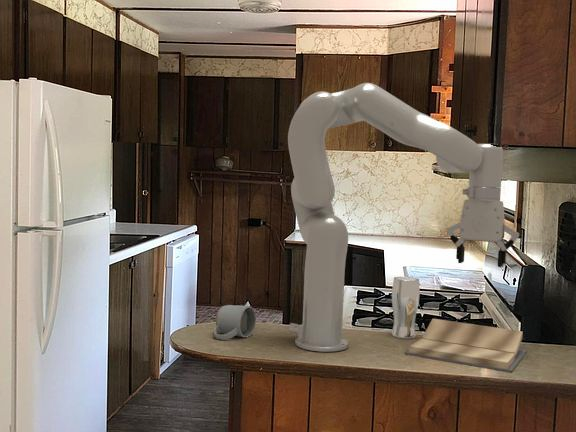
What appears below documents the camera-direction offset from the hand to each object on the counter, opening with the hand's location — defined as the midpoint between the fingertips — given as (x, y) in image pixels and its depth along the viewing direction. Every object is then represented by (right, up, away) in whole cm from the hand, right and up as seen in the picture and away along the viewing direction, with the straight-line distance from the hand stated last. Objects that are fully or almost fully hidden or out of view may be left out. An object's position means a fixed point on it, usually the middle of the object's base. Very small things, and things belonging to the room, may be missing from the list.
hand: (480, 264), depth 161 cm
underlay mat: (-5, -21, -6) cm, 22 cm away
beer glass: (-17, -19, +9) cm, 27 cm away
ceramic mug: (-61, -18, +2) cm, 64 cm away
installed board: (-7, -21, -10) cm, 24 cm away
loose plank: (-3, -18, -2) cm, 18 cm away
